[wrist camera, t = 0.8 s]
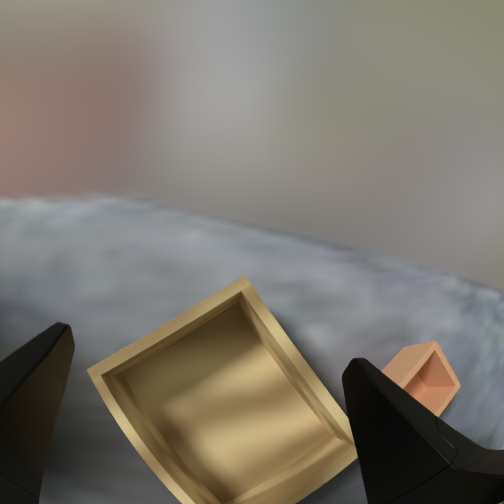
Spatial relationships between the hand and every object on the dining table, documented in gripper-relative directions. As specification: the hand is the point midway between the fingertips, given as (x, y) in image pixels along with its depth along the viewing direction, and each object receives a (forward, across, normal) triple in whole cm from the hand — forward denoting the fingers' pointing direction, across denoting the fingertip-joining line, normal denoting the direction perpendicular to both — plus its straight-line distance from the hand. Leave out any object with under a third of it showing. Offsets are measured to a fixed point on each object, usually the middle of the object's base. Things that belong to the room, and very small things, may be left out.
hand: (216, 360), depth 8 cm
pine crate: (+7, -3, +14) cm, 16 cm away
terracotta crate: (+6, -19, +12) cm, 23 cm away
